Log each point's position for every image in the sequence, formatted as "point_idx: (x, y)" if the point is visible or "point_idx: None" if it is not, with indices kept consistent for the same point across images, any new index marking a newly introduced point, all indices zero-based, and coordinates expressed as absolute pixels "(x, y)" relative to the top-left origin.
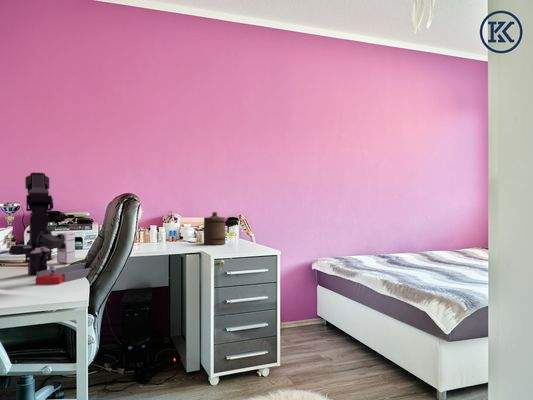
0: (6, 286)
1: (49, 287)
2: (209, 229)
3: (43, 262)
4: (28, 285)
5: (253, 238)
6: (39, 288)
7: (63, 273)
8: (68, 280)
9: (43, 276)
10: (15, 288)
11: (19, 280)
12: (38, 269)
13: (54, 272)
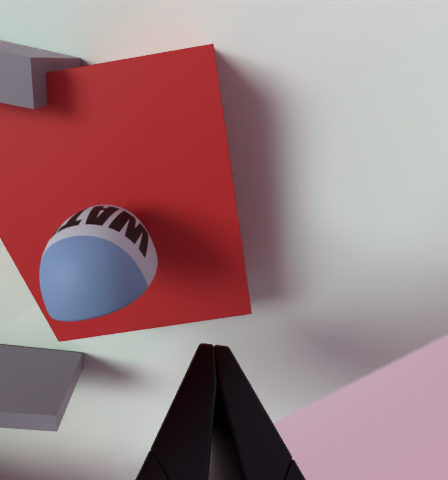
0: (319, 391)
1: (401, 38)
2: None
3: (176, 444)
4: (287, 297)
5: None
6: (437, 121)
7: (27, 89)
8: (9, 43)
9: (177, 287)
10: (396, 310)
11: (128, 437)
12: (240, 370)
13: (112, 206)
